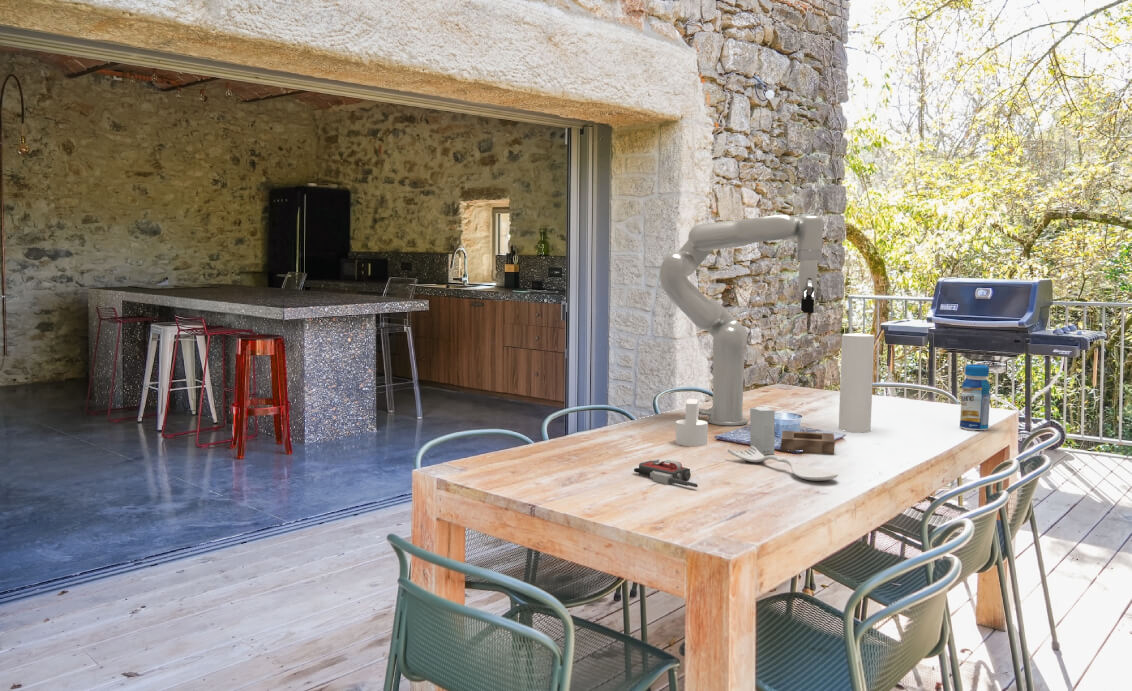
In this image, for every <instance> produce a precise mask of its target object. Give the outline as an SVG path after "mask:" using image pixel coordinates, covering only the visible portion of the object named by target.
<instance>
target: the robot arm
mask: <svg viewBox="0 0 1132 691" xmlns="http://www.w3.org/2000/svg"><path fill="white" fill-rule="evenodd" d="M823 231H824V220H823V217H822V216H820V215H801V216H792V215H791V216H790V215H789V214H784V213H783V214H775V215H766V216H760V217H751V218H740V219H739V218H738V219H731V220H724V221H716V222H709V223H708V222H707V223H701V224H697V225H694V226H693V227H692V228H691V229H690V231H689V232H688V240H687V241H686V242H685V243H684V245H683V246H682V247H681V248H680V249H679V250H678V251H673V252H670V253H668V254H667V255H666V256H665V257H664V259H663V260H662V263H661V266H660V268H659V269H660V270H659V281H660V285H661V287H662V290H663V291H664V292H665V294H666V296H668V298H669V299H671V301H672V302H673V303H674V304H675V305H676V306H677V307H678V308H679V310H680V311H681V312H682V313H683V314H684V315H685V316H686V317H687V318H688V319H689V320H690V321H691V322H692V323H693V324H694V325H695V327H697V328H699V329H700V330H704V331H706V332H708V334H709V335H711V336H712V353H713V356H712V358H713V366H712V367H713V368H712V369H713V370H712V372H713V373H712V376H713V377H712V378H713V379H712V406H711V408H710V407H708V408H698V415H700V416H708V417H707V421H706V422H708V424H709V423H710V424H713V425H717V426H730V427H731V426H734V427H735V426H736V427H737V426H744V425H746V424H747V423H748V419H747V418H745V417H743V410H744V409H743V404H744V402H743V401H744V371H745V370H744V366H745V362H744V361H745V360H744V359H745V358H744V355H745V354H744V353H745V352H744V350H745V349H744V348H745V346H746V344H747V342H748V332H747V330H746V328H745V326H743V324H742V323H740V321H738V319H737V318H736V317H734V316H733V315H732V314H731V313H730V312H729V311H728V310H727V309H726V308H725V307H724V306H723V305H722V304H721V303H720V302H718V301H717V300H714V299H709V298H708V297H706V295H704V294H703V292H702V291H700V290H699V289H698V287H696V286H695V285H694V284H693V282H692V281H690V280H689V278H688V277H689V276H691V275H692V274H693V273H694V272H696V270H697V269H698V267H699V266H701V264H702V263H703V262H704V261H705V260H706V259H707V258H708V257H709V255H710V254H712V253H711V252H712V251H714V250H723V249H731V248H739V247H744V246H748V245H750V244H756V243H763V242H771V241H777V240H778V241H779V240H782V241H790V240H795V239H796V258H795V259H796V261H798V262H799V264H798V265H799V267H798V285H797V286H798V287H797V288H798V289H797V292H798V293H800V294H802V295H801V301H800V302H801V303H800V304H801V305H800V311H801V312H802V313H803V314H813V313H814V311H815V299H814V294H815V293H816V291H817V281H818V262H822V261H823V258H822V257H823V236H824V235H823V233H824V232H823Z"/></svg>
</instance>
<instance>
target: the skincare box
mask: <svg viewBox="0 0 1132 691" xmlns="http://www.w3.org/2000/svg"><path fill="white" fill-rule="evenodd" d="M749 409H750V410H749V419H750V420H749V422H750V426H749V427H750V428H749V429H750V436H749V437H750V440H749V441H750V449H751V446H754V447H755V448H756V449H757V450H758V451H759V452H760V453H761V454H763V455H764V456H769V455H774V454H775V447H776V446H775V438H776V437H775V430H776V429H775V427H776V426H775V422H776V420H775V410H774V409H772V408H768V407H765V406H756V407H755V406H754V407H750V408H749Z"/></svg>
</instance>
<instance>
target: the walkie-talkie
mask: <svg viewBox="0 0 1132 691" xmlns="http://www.w3.org/2000/svg"><path fill="white" fill-rule="evenodd" d="M633 472H634V473H637V474H638V475H639V476H642V477H646V478H650V479H652V480H653V482H657V483H661V484H664V485H670V484H677V485H681V486H686V487H689V486H690V487H693V488H698V487H699V485H698V484H697V483H695V482H692V481H691V482H690V481H688V480H690V479H691V469H690V468H687V467H683V466H682V463H681V462H679V461H675V460H671V459H666V460H662V461H660V458H657V459H653V460H648V461H642V462H640V463H639V464H638V467H635V468H634V469H633Z"/></svg>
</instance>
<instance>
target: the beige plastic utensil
mask: <svg viewBox="0 0 1132 691" xmlns="http://www.w3.org/2000/svg"><path fill="white" fill-rule="evenodd" d="M727 452H728V453H729V454H731V456H735V457H736V458H739V459H742V460H744V461H747V462H750V463H763V462H765V461H768V460H774V461H777V462H778V463H779V462H780V463H784V464H787V465H789V467H790V469H791V472H792V474H794V475H795V476H796V477H798V478H800V479H803V480H805V481H809V482H810V481H811V482H823V481H824V482H825V481H830V480H834V479H835V478H837V477H839V473H836V472H832V471H825V470H821V469H816V468H813V467H809V466H805V465H802V464H798V463H797V462H794V461H792V460H790V459H789V458H787V457H784V456H783V457H782V456H779V455H776V454H775V455H774V454H770V455H763V454H761V453H760V452H759V451H758V450H757V449H756V448H755V447H754V446H751V449H750V448H747V449H744V450H740V451H739V450H732V449H729V448H728V449H727Z"/></svg>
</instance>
